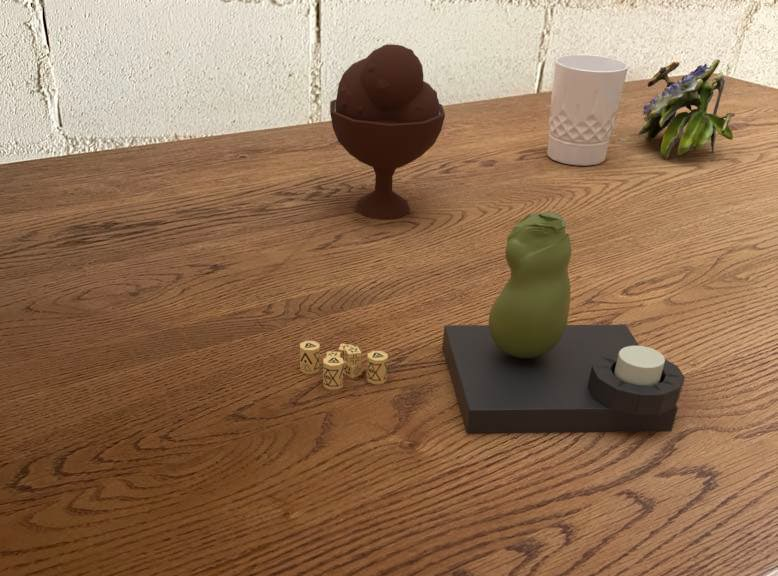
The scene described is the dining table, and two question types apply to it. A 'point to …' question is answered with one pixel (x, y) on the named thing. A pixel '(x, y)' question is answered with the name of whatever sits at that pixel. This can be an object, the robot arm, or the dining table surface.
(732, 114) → the passion flower
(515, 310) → the pear
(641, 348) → the button
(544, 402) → the scale
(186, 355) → the dining table surface
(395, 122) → the ice cream bowl
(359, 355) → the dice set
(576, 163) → the white cup
